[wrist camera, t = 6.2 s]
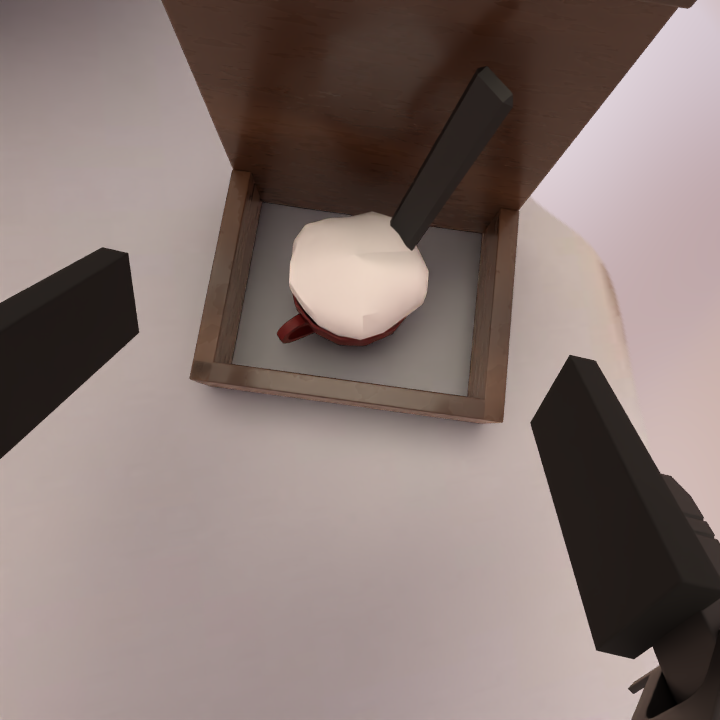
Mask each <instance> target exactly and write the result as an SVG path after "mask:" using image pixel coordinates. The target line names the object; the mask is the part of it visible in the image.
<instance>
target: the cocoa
mask: <svg viewBox="0 0 720 720" xmlns="http://www.w3.org/2000/svg"><path fill="white" fill-rule="evenodd" d="M512 108H513V93H512V92H511V91H510V90H509V89H508V88H507V87H506V86H505V85H504V84H503V83H502V81H501V80H500V79H499V78H498V77H497V76H496V75H495V74H494V73H493V72H492V71H491V70H490V68H489V67H488V66H485V67H481V68H477V70H476V72H475V73H474V75H473V77H472V79H471V80H470V82H469V84H468V86H467V87H466V89H465V91H464V93H463V94H462V96H461V98H460V100H459V101H458V103H457V105H456V107H455V108H454V110H453V112H452V114H451V115H450V117H449V119H448V121H447V122H446V124H445V126H444V128H443V129H442V131H441V133H440V135H439V136H438V138H437V140H436V142H435V143H434V145H433V147H432V148H431V150H430V152H429V154H428V155H427V157H426V159H425V161H424V162H423V164H422V166H421V168H420V169H419V171H418V173H417V175H416V176H415V178H414V180H413V182H412V183H411V185H410V187H409V189H408V190H407V192H406V194H405V196H404V197H403V199H402V201H401V203H400V204H399V206H398V208H397V210H396V211H395V213H394V215H393V217H389V216H386V215H383V214H379V213H376V212H373V211H372V212H367V213H363V214H359V215H355V216H351V217H339V218H327V219H323V220H320V221H317V222H314V223H309V224H306V225H305V226H304V227H303V229H302V230H301V232H300V233H299V234H298V236H297V237H296V239H295V240H294V242H293V250H292V259H291V261H290V275H289V285H290V290H291V291H292V293H293V298H294V303H295V306H296V309H297V311H298V312H299V313H300V314H298V315H297V316H295V317H293V318H292V319H290V320H289V321H287V322H286V323H285V324H284V325H283V326H282V327H281V328H280V329H279V330H278V332H277V335H278V337H279V339H280V340H281V341H282V342H283V343H290V342H293V341H296V340H299V339H301V338H304V337H306V336H308V335H311V334H313V333H316V334H318V335H320V336H322V337H324V338H326V339H328V340H330V341H332V342H334V343H336V344H338V345H350V346H366V345H368V344H371V343H373V342H375V341H377V340H380V339H382V338H384V337H387V336H389V335H391V334H393V332H394V331H395V330H396V329H397V328H398V326H399V325H400V324H401V323H402V322H403V320H404V319H405V318H406V317H407V316H408V315H409V314H410V313H411V312H413V311H414V310H416V309H417V308H419V307H420V306H421V305H423V302H424V299H425V297H426V294H427V285H428V275H429V271H428V269H427V267H426V264H425V262H424V260H423V258H422V256H421V254H420V251H419V249H418V247H417V243H418V242H419V241H420V239H421V238H422V236H423V235H424V233H425V232H426V231H427V229H428V228H429V226H430V225H431V223H432V222H433V221H434V219H435V218H436V216H437V215H438V213H439V212H440V211H441V209H442V208H443V206H444V205H445V203H446V202H447V201H448V199H449V198H450V196H451V195H452V193H453V192H454V191H455V189H456V188H457V186H458V185H459V183H460V182H461V180H462V179H463V178H464V176H465V175H466V173H467V172H468V170H469V169H470V168H471V166H472V165H473V163H474V162H475V160H476V159H477V158H478V156H479V155H480V153H481V152H482V150H483V149H484V148H485V146H486V145H487V143H488V142H489V140H490V139H491V138H492V136H493V135H494V133H495V132H496V130H497V129H498V128H499V126H500V125H501V123H502V122H503V120H504V119H505V118H506V116H507V115H508V113H509V112H510V110H511V109H512Z"/></svg>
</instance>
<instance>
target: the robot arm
mask: <svg viewBox="0 0 720 720" xmlns="http://www.w3.org/2000/svg"><path fill="white" fill-rule="evenodd" d="M138 333H139V328H138V320H137V313H136V306H135V299H134V292H133V285H132V278H131V270H130V263H129V256H128V253H125V252H121V251H116V250H112V249H108V248H103V247H102V248H100V249H98V250H96V251H95V252H93V253H91V254H89V255H87V256H85V257H84V258H82V259H80V260H78V261H76V262H74V263H73V264H71V265H69V266H67V267H65V268H63V269H62V270H60V271H58V272H56V273H54V274H52V275H51V276H49V277H47V278H45V279H43V280H42V281H40V282H38V283H36V284H34V285H32V286H31V287H29V288H27V289H25V290H23V291H21V292H20V293H18V294H16V295H14V296H12V297H10V298H9V299H7V300H5V301H3V302H1V303H0V459H1V458H2V457H3V456H4V455H5V454H6V453H8V452H9V451H10V450H11V449H12V448H13V447H14V446H15V445H16V444H17V443H18V442H20V441H21V440H22V439H23V438H24V437H25V436H26V435H27V434H28V433H29V432H31V431H32V430H33V429H34V428H35V427H36V426H37V425H38V424H39V423H40V422H42V421H43V420H44V419H45V418H46V417H47V416H48V415H49V414H50V413H51V412H53V411H54V410H55V409H56V408H57V407H58V406H59V405H60V404H61V403H62V402H64V401H65V400H66V399H67V398H68V397H69V396H70V395H71V394H72V393H73V392H74V391H76V390H77V389H78V388H79V387H80V386H81V385H82V384H83V383H84V382H85V381H87V380H88V379H89V378H90V377H91V376H92V375H93V374H94V373H95V372H96V371H98V370H99V369H100V368H101V367H102V366H103V365H104V364H105V363H106V362H107V361H109V360H110V359H111V358H112V357H113V356H114V355H115V354H116V353H117V352H118V351H120V350H121V349H122V348H123V347H124V346H125V345H126V344H127V343H128V342H129V341H130V340H132V339H133V338H134V337H135V336H136V335H137V334H138ZM531 427H532V430H533V434H534V437H535V440H536V444H537V447H538V451H539V454H540V458H541V461H542V465H543V468H544V472H545V475H546V478H547V482H548V485H549V489H550V492H551V496H552V499H553V503H554V506H555V509H556V513H557V516H558V520H559V523H560V527H561V530H562V534H563V537H564V541H565V544H566V547H567V551H568V554H569V558H570V561H571V565H572V568H573V572H574V575H575V578H576V582H577V585H578V589H579V592H580V596H581V599H582V603H583V606H584V610H585V613H586V616H587V620H588V623H589V627H590V630H591V634H592V637H593V641H594V644H595V647H596V651H601V652H605V653H609V654H614V655H618V656H622V657H627V658H631V659H635V658H636V657H638V656H639V655H641V654H642V653H643V652H645V651H646V650H648V649H649V648H651V647H652V646H653V649H654V652H655V654H656V657H657V659H658V662H659V664H660V666H658V667H656V668H655V669H653V670H652V671H650V672H649V673H647V674H646V675H644V676H643V677H641V678H640V679H638V680H637V681H635V682H634V683H633V684H632V685H631V686H630V687H629V688H628V689H629V690H630V691H631V692H632V693H633V694H634V693H636V692H638V691H639V690H641V689H642V688H644V690H643V693H642V695H641V698H640V700H639V702H638V705H637V707H636V710H635V712H634V715H633V717H632V719H631V720H720V543H719V541H718V540H717V539H714V536H715V535H714V533H713V531H712V530H711V528H710V527H709V525H708V523H707V522H706V521H703V518H704V517H703V515H702V514H701V512H700V510H699V509H698V507H697V505H696V504H695V502H694V501H693V499H692V497H691V496H690V495H689V494H688V493H687V492H686V491H685V490H684V489H683V488H682V487H681V486H680V485H679V484H678V483H677V482H676V481H675V480H674V479H673V478H672V477H671V476H669V475H664V474H660V472H659V470H658V468H657V467H656V465H655V463H654V461H653V460H652V458H651V456H650V454H649V453H648V451H647V449H646V447H645V446H644V444H643V442H642V440H641V439H640V437H639V435H638V434H637V432H636V430H635V428H634V427H633V425H632V423H631V421H630V420H629V418H628V416H627V414H626V413H625V411H624V409H623V407H622V406H621V404H620V402H619V401H618V399H617V397H616V395H615V394H614V392H613V390H612V388H611V387H610V385H609V383H608V381H607V380H606V378H605V376H604V374H603V373H602V371H601V369H600V368H599V366H598V364H597V362H596V361H594V360H590V359H586V358H581V357H577V356H573V355H569V357H568V359H567V361H566V362H565V364H564V366H563V367H562V369H561V371H560V373H559V374H558V376H557V378H556V379H555V381H554V383H553V385H552V386H551V388H550V390H549V392H548V393H547V395H546V397H545V398H544V400H543V402H542V404H541V405H540V407H539V409H538V410H537V412H536V414H535V416H534V417H533V419H532V421H531Z"/></svg>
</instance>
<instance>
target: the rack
mask: <svg viewBox="0 0 720 720" xmlns="http://www.w3.org/2000/svg"><path fill="white" fill-rule="evenodd" d="M696 1H697V0H162V3H163V5H164V7H165V10H166V12H167V14H168V17H169V19H170V21H171V24H172V26H173V29H174V31H175V33H176V36H177V38H178V40H179V43H180V45H181V47H182V50H183V52H184V55H185V57H186V59H187V62H188V64H189V66H190V69H191V71H192V73H193V76H194V78H195V81H196V83H197V85H198V88H199V90H200V92H201V95H202V97H203V99H204V102H205V104H206V106H207V109H208V111H209V114H210V116H211V118H212V121H213V123H214V125H215V128H216V130H217V132H218V135H219V137H220V140H221V142H222V144H223V147H224V149H225V151H226V154H227V156H228V158H229V161H230V163H231V165H232V168H233V170H232V174H231V179H230V184H229V188H228V193H227V198H226V203H225V208H224V213H223V218H222V223H221V227H220V232H219V237H218V242H217V247H216V252H215V257H214V261H213V266H212V271H211V276H210V281H209V286H208V291H207V295H206V300H205V305H204V310H203V315H202V320H201V325H200V330H199V334H198V339H197V344H196V349H195V354H194V359H193V364H192V368H191V373H190V379H191V380H193V381H196V382H199V383H202V384H205V385H208V386H213V387H220V388H227V389H235V390H242V391H249V392H256V393H264V394H271V395H278V396H285V397H293V398H300V399H307V400H314V401H322V402H329V403H336V404H343V405H351V406H358V407H365V408H372V409H380V410H387V411H394V412H401V413H409V414H416V415H423V416H430V417H438V418H445V419H452V420H459V421H466V422H474V423H481V424H486V423H502V422H503V417H504V403H505V390H506V377H507V364H508V351H509V338H510V325H511V312H512V299H513V286H514V272H515V259H516V246H517V233H518V220H519V209H520V208H521V207H522V205H523V204H524V203H525V202H526V200H527V199H528V198H529V197H530V195H531V194H532V193H533V191H534V190H535V189H536V188H537V186H538V185H539V184H540V182H541V181H542V180H543V179H544V177H545V176H546V175H547V174H548V172H549V171H550V170H551V168H552V167H553V166H554V165H555V164H556V162H557V161H558V160H559V158H560V157H561V156H562V155H563V153H564V152H565V150H566V149H567V148H568V147H569V146H570V144H571V143H572V142H573V141H574V139H575V138H576V137H577V136H578V134H579V133H580V132H581V130H582V129H583V128H584V126H585V125H586V124H587V123H588V122H589V120H590V119H591V118H592V116H593V115H594V114H595V113H596V111H597V110H598V109H599V108H600V106H601V105H602V104H603V102H604V101H605V100H606V99H607V97H608V96H609V95H610V94H611V92H612V91H613V90H614V88H615V87H616V86H617V84H618V83H619V82H620V81H621V80H622V78H623V77H624V76H625V74H626V73H627V72H628V71H629V69H630V68H631V67H632V65H633V64H634V63H635V62H636V60H637V59H638V58H639V57H640V55H641V54H642V53H643V52H644V50H645V49H646V48H647V47H648V45H649V44H650V43H651V42H652V40H653V39H654V38H655V36H656V35H657V34H658V33H659V31H660V30H661V29H662V28H663V26H664V25H665V24H666V22H667V21H668V20H669V19H670V17H671V16H672V15H673V13H674V12H675V11H676V10H677V8H678V7H680V8H690V7H691V6H692V5H693V4H694V3H695V2H696ZM485 66H488V67H489V68H490V70H491V71H492V72H493V73H494V74H495V75H496V76H497V77H498V78H499V79H500V80H501V81H502V83H503V84H504V85H505V86H506V87H507V88H508V89H509V90H510V91H511V92H512V93H513V108H512V109H511V110H510V112H509V113H508V115H507V116H506V118H505V119H504V120H503V122H502V123H501V125H500V126H499V128H498V129H497V130H496V132H495V133H494V135H493V136H492V138H491V139H490V140H489V142H488V143H487V145H486V146H485V148H484V149H483V150H482V152H481V153H480V155H479V156H478V158H477V159H476V160H475V162H474V163H473V165H472V166H471V168H470V169H469V170H468V172H467V173H466V175H465V176H464V178H463V179H462V180H461V182H460V183H459V185H458V186H457V188H456V189H455V191H454V192H453V193H452V195H451V196H450V198H449V199H448V201H447V202H446V203H445V205H444V206H443V208H442V209H441V211H440V212H439V213H438V215H437V216H436V218H435V219H434V221H433V222H432V223H431V225H430V226H434V227H441V228H448V229H455V230H462V231H469V232H476V233H483V234H482V243H481V254H480V265H479V276H478V287H477V298H476V309H475V320H474V331H473V342H472V353H471V364H470V375H469V385H468V396H467V397H466V396H458V395H451V394H444V393H437V392H430V391H422V390H415V389H408V388H401V387H393V386H386V385H379V384H372V383H365V382H357V381H350V380H343V379H336V378H329V377H321V376H314V375H307V374H300V373H293V372H285V371H278V370H271V369H264V368H256V367H249V366H242V365H235V364H232V359H233V353H234V348H235V343H236V337H237V332H238V327H239V322H240V316H241V311H242V306H243V301H244V295H245V290H246V285H247V279H248V274H249V269H250V264H251V258H252V253H253V248H254V242H255V237H256V232H257V227H258V221H259V216H260V211H261V206H262V202H267V203H274V204H281V205H288V206H295V207H302V208H309V209H316V210H323V211H330V212H337V213H344V214H351V215H359V214H363V213H367V212H372V211H373V212H376V213H379V214H383V215H386V216H389V217H393V215H394V213H395V211H396V210H397V208H398V206H399V204H400V203H401V201H402V199H403V197H404V196H405V194H406V192H407V190H408V189H409V187H410V185H411V183H412V182H413V180H414V178H415V176H416V175H417V173H418V171H419V169H420V168H421V166H422V164H423V162H424V161H425V159H426V157H427V155H428V154H429V152H430V150H431V148H432V147H433V145H434V143H435V142H436V140H437V138H438V136H439V135H440V133H441V131H442V129H443V128H444V126H445V124H446V122H447V121H448V119H449V117H450V115H451V114H452V112H453V110H454V108H455V107H456V105H457V103H458V101H459V100H460V98H461V96H462V94H463V93H464V91H465V89H466V87H467V86H468V84H469V82H470V80H471V79H472V77H473V75H474V73H475V72H476V70H477V68H481V67H485Z"/></svg>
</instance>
